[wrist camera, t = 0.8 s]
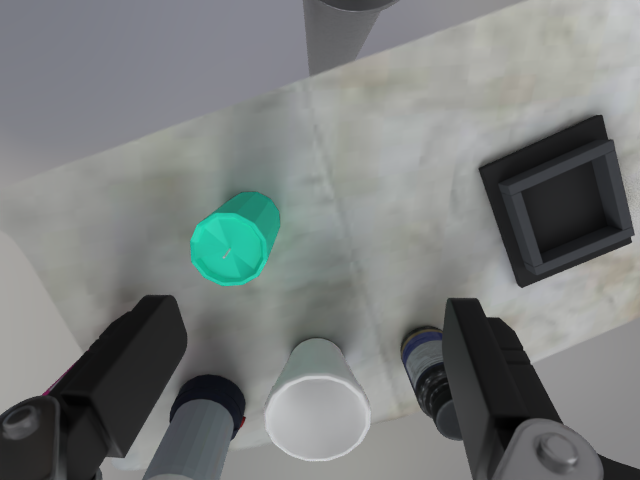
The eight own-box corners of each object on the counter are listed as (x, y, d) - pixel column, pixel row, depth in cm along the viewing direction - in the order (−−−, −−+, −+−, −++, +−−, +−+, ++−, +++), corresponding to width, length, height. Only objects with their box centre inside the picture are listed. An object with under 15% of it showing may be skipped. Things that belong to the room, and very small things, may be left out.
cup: (264, 330, 41) (250, 384, 32) (351, 313, 41) (361, 364, 32) (284, 402, 44) (277, 471, 35) (366, 387, 43) (379, 452, 34)
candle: (285, 198, 37) (273, 227, 25) (274, 253, 38) (257, 303, 27) (227, 185, 36) (187, 207, 25) (218, 240, 38) (176, 286, 26)
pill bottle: (456, 362, 43) (504, 437, 32) (406, 377, 43) (436, 456, 32) (444, 317, 41) (490, 381, 30) (392, 333, 41) (419, 401, 31)
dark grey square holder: (478, 168, 36) (491, 171, 34) (596, 115, 35) (619, 113, 32) (517, 285, 40) (532, 296, 37) (625, 240, 39) (649, 248, 36)
